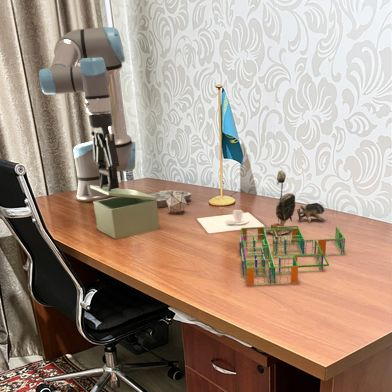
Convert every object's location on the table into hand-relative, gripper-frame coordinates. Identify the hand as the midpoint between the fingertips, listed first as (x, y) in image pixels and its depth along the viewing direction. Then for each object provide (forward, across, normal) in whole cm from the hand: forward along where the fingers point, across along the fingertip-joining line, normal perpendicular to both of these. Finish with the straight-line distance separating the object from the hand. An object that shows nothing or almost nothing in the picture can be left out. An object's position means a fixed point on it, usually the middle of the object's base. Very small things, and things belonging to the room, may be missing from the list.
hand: (109, 186), depth 175 cm
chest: (+16, 0, +5) cm, 16 cm away
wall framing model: (+16, +63, +27) cm, 70 cm away
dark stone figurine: (+16, +40, +42) cm, 60 cm away
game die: (+16, -6, +29) cm, 33 cm away
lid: (+3, 0, +5) cm, 6 cm away
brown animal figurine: (+16, +38, +57) cm, 70 cm away
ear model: (+16, +19, +36) cm, 43 cm away
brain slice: (+16, -24, +34) cm, 44 cm away
